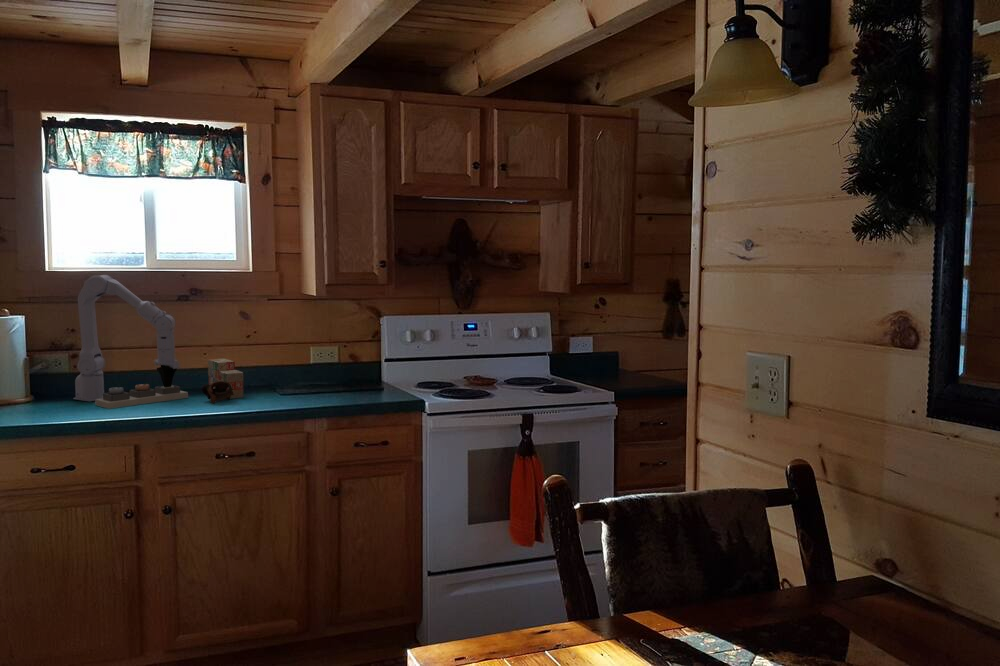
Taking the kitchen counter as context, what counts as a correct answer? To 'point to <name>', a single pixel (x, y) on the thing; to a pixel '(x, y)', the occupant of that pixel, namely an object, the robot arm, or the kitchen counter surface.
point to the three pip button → (142, 387)
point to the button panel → (140, 397)
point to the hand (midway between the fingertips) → (167, 386)
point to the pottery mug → (217, 391)
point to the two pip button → (116, 390)
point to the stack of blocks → (226, 375)
